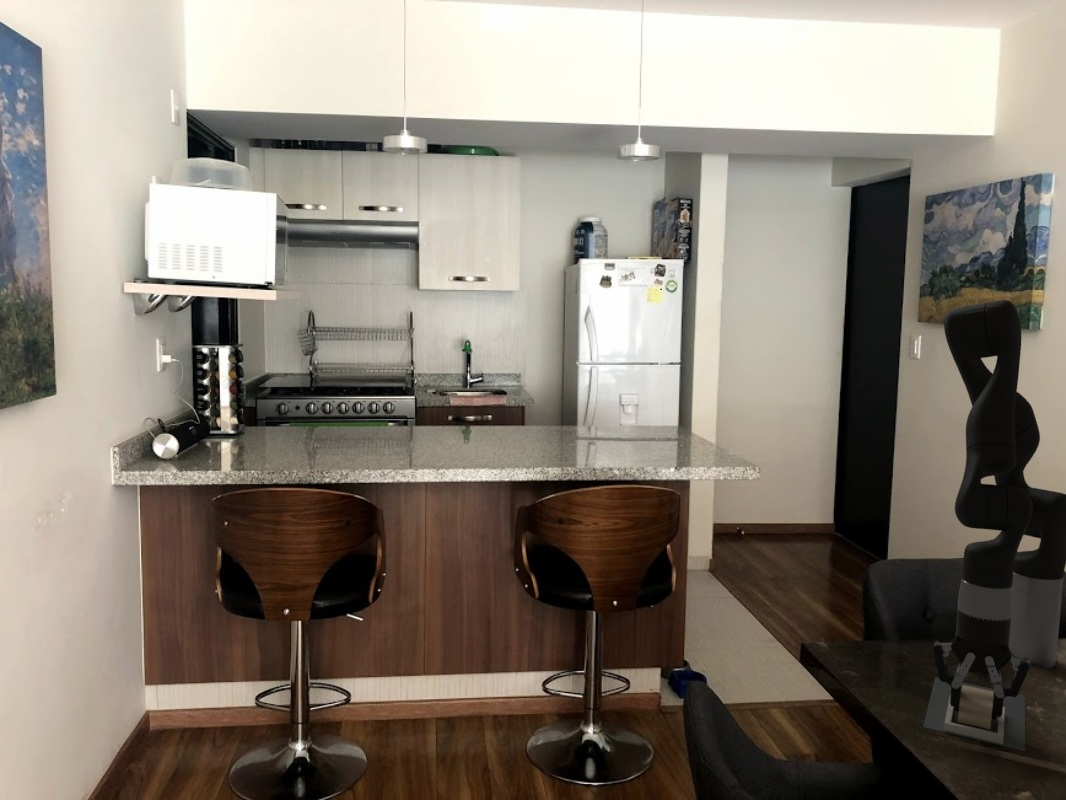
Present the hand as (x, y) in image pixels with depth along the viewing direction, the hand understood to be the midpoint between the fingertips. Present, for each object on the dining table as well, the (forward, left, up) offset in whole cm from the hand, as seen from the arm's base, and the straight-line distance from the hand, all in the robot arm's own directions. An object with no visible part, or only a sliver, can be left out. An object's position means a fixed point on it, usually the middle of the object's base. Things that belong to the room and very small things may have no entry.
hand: (975, 712), depth 138 cm
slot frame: (0, 0, -2) cm, 2 cm away
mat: (-4, -2, -2) cm, 5 cm away
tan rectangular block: (0, 0, 0) cm, 0 cm away
